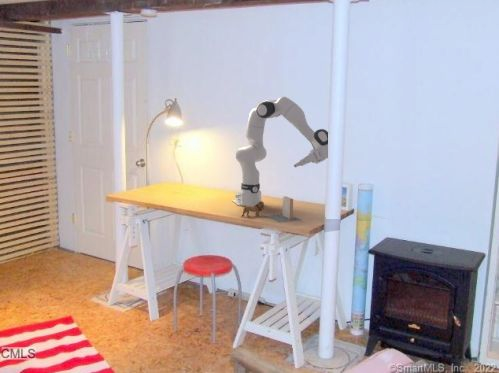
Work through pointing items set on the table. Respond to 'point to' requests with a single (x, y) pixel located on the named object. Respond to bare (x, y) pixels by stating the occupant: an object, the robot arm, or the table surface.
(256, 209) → the lion figurine
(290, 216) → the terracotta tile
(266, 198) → the table surface
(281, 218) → the rubber mat
